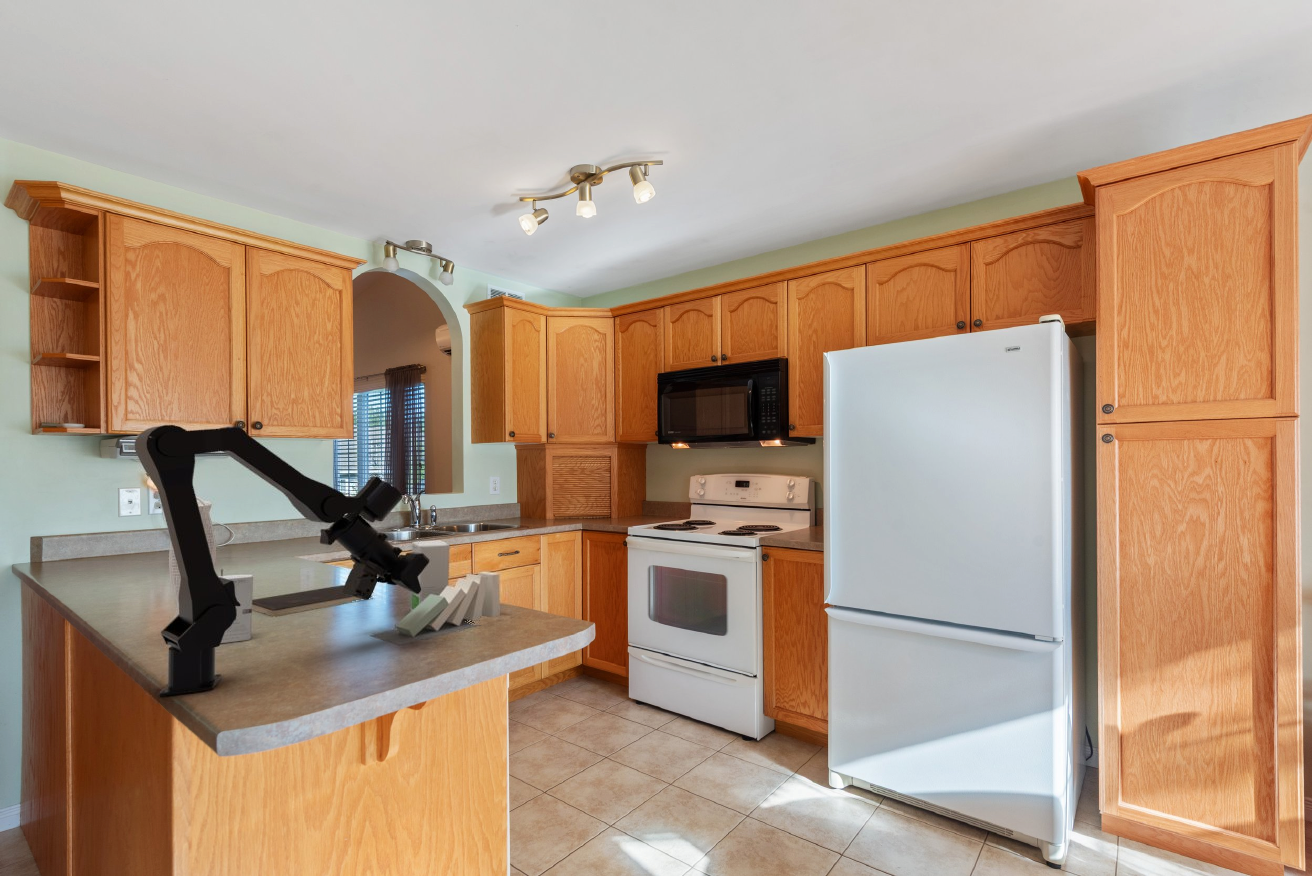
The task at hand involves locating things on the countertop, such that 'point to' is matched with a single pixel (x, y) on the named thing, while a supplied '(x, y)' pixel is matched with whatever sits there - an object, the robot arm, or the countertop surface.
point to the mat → (422, 633)
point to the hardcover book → (302, 601)
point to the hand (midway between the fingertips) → (418, 592)
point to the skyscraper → (209, 532)
